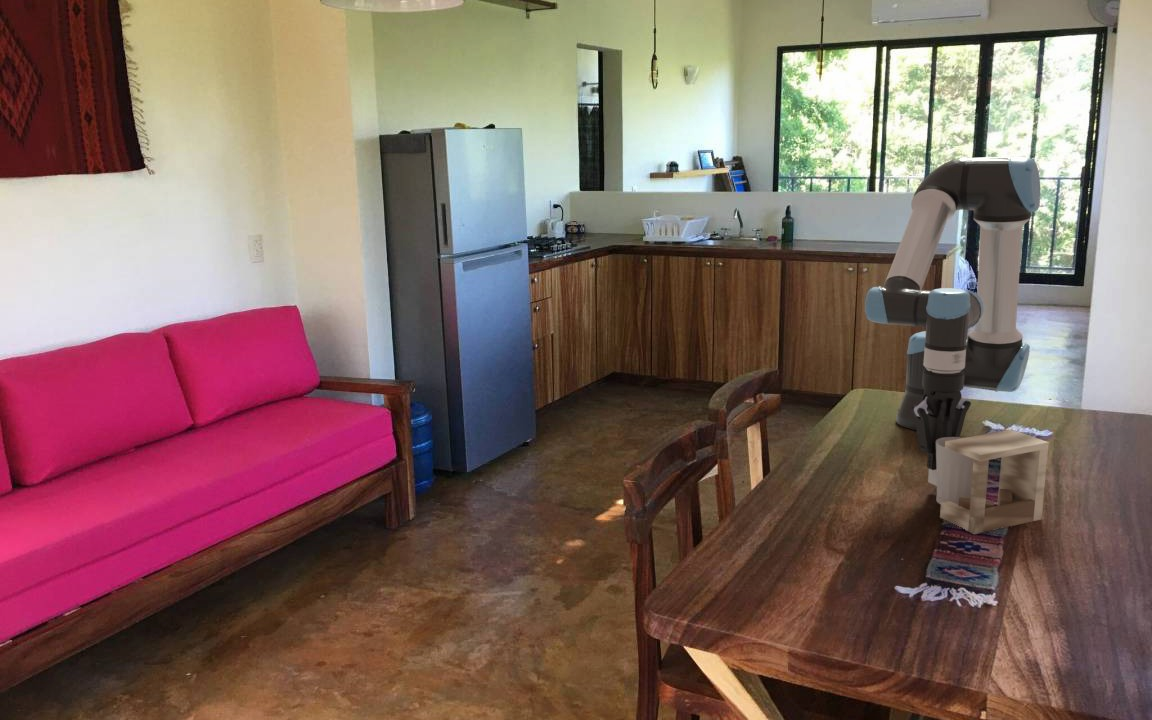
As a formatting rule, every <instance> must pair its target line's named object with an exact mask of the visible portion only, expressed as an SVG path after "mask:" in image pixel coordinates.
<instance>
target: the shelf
mask: <svg viewBox="0 0 1152 720" xmlns="http://www.w3.org/2000/svg"><path fill="white" fill-rule="evenodd" d="M960 438H961V439H955V440H950V441H945V448H948V449H950V450H953V451H955V452H958V453H960V454H963V455H965V456H968V457H970V458H973V459H974V461H973V474H972V487H971V498H963V497H959V504H955V503H953V502H951V501H946V502H941V504H940V511H939V512H940V513H939V518H940V519H942V520H944V521H946V520H947V521H946V522H948V521H949V522H948V523H950V522H951V523H950V524H952V523H953V525H954V524H956V525H957V526H956V525H955V526H956V527H958V526H959V528H960V527H962V528H963V530H964V529H965V531H966V532H968V533H971V534H972V535H977V534H983V533H986V532H985V531H988V532H991V531H990V530H992V531H995V530H994V529H996V530H998V529H997V528H1001V529H1003V528H1002V527H1005V528H1009V526H1010V527H1014V526H1017V525H1022V524H1026V523H1032V522H1036V521H1041V520H1042V516H1043V510H1044V509H1043V506H1044V496H1045V488H1046V487H1045V486H1046V476H1047V465H1048V454H1049V446H1050V445H1049V444H1050V441H1046V440H1044V439H1040V438H1037V437H1034V436H1032V435H1029V434H1026V433H1023V432H1020V431H1017V430H1015V429H1006V430H1002V431H997V432H989V433H984V434H980V435H974V436H972V435H971V436H967V437H960ZM995 459H1000V470H999V471H1000V472H999V480H998V481H999V482H998V494H997V496H998V497H997V504H998V505H996V506H995V501H994V500H988V499H986V498H987V488H988V476H989V475H988V474H989V465H990V460H995ZM962 528H961V529H962ZM982 532H983V533H982Z"/></svg>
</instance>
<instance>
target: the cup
mask: <svg viewBox="0 0 1152 720" xmlns="http://www.w3.org/2000/svg"><path fill="white" fill-rule="evenodd" d="M961 438H962V437H961V436H960V437H944V438H939V439H937V440H936V468H937V486H936V499H935V500H936V502H937V504H939V505H941V502H946V501H951V502H953V503H955V504H959V497H963V498H971V487H972V474H973V461H974V459H973V458H970V457H968V456H965V455H963V454H960V453H958V452H955V451H953V450H950V449H948V448H945V441H950V440H955V439H961Z"/></svg>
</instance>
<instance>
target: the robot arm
mask: <svg viewBox="0 0 1152 720" xmlns="http://www.w3.org/2000/svg"><path fill="white" fill-rule="evenodd" d="M1041 191H1042V190H1041V177H1040V171H1039V167H1038V164H1037V163H1036V161H1035V160H1034V159H1032V158H1030V157H1021V156H1017V157H1016V156H991V157H990V156H988V157H987V156H986V157H982V156H981V157H968V156H967V157H958V158H954V159H952V160H949V161H947V162H945V163H943V164H941V165H940V166H938V167H936V168H935V169H934V170H933V171H932V172H930V173H929V174H928V175H927V176H926V177H925V178H924V179H923V180H922V181H921V182H920V183H919V185H918V187H917V188H916V190H915V192H914V194H913V197H912V199H911V205H910V206H911V209H912V212H911V214H910V216H909V217H910V218H909V220H908V222H907V225H906V228H905V230H904V233H903V235H902V237H901V240H900V243H899V245H898V248H897V251H896V253H895V256H894V258H893V261H892V263H891V266H890V269H889V271H888V274H887V276H886V279H885V281H884V284H883V286H881V285H879V286H873V287H871V288H870V289H869V290H868V291H867V293H866V296H865V302H864V312H865V316H866V319H867V320H868V321H870V322H873V323H877V324H882V325H883V324H884V325H887V326H888V325H897V326H909V327H910V326H911V327H918V328H920V327H921V328H925V330H923V331H920V332H916V333H913V335H910V337H909V339H908V346H907V347H908V348H907V351H906V356H907V357H906V374H905V375H906V377H905V390H904V391H905V392H904V394H903V397H902V400H901V403H900V407H899V408H898V409H897V412H896V420H895V421H896V423H897V424H898V425H900V426H901V427H903V428H906V429H910V430H913V431H916V434H917V442H918V450H921V451H924V452H925V453H927V461H926V467H927V469H928V477H927V482H928V483H929V484H931V485H933V486H935V487H937V468H936V440H937V439H939V438H944V437H960V438H961V434H962V430H963V427H964V423H965V419H966V415H967V412H968V411H969V409H970V407H971V405H972V402H971V401H969V400H966V399H964V398H963V395H962V390H963V389H964V388H968V389H969V388H971V389H976V390H977V389H979V390H985V391H992V392H1006V393H1013V392H1016V391H1017V390H1018V389H1019V388H1020V386H1021V384H1022V381H1023V379H1024V376H1025V373H1026V369H1027V366H1028V360H1029V357H1030V345H1029V344H1028V343H1027V342H1023V337H1024V336H1023V333H1021V331H1019V329H1017V314H1018V301H1019V300H1018V298H1019V287H1020V285H1019V283H1020V269H1021V253H1022V239H1023V238H1022V237H1023V227H1024V225H1025V224H1026V223H1028V221H1030V220H1031V219H1032V218H1031V217H1032V216H1031V215H1032V213H1034V212H1037V211H1038V210H1039V208H1040V205H1041ZM961 210H963V211H973V221H975V222H976V223H977V224H978V225H979V228H980V229H979V230H980V231H979V232H980V233H979V251H978V270H977V271H978V272H977V292H975V291H973V290H968V289H962V288H954V287H952V288H951V287H939V288H935V289H932V290H928V289H927V290H925V289H923V287H924V284H925V282H926V280H927V279H926V278H927V276H928V273H929V271H930V267H931V265H932V262H933V260H934V257H935V254H936V252H937V249H938V245H939V243H940V241H941V238H942V234H943V232H944V231H945V227H946V224H947V222H948V221H949V220H950V219H951V218H953V216H954V215H955V213H956V211H961ZM974 326H975V327H974ZM970 328H972V329H971V330H970V331H969V329H970Z"/></svg>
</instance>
